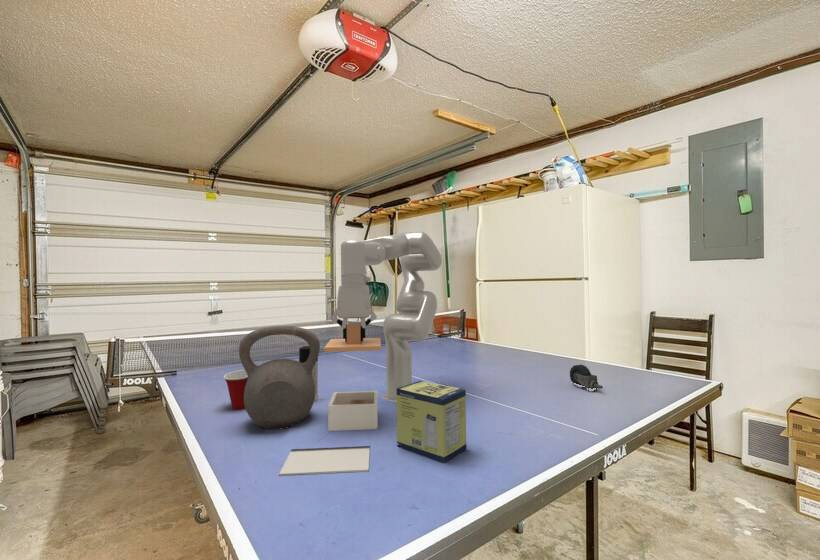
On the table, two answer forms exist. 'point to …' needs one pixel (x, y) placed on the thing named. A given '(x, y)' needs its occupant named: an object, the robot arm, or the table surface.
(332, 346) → the lid
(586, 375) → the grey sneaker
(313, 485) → the table surface
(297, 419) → the kettlebell
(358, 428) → the bin
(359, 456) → the mat
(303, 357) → the spray can
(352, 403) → the walnut block
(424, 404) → the protein box
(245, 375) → the plastic cup
